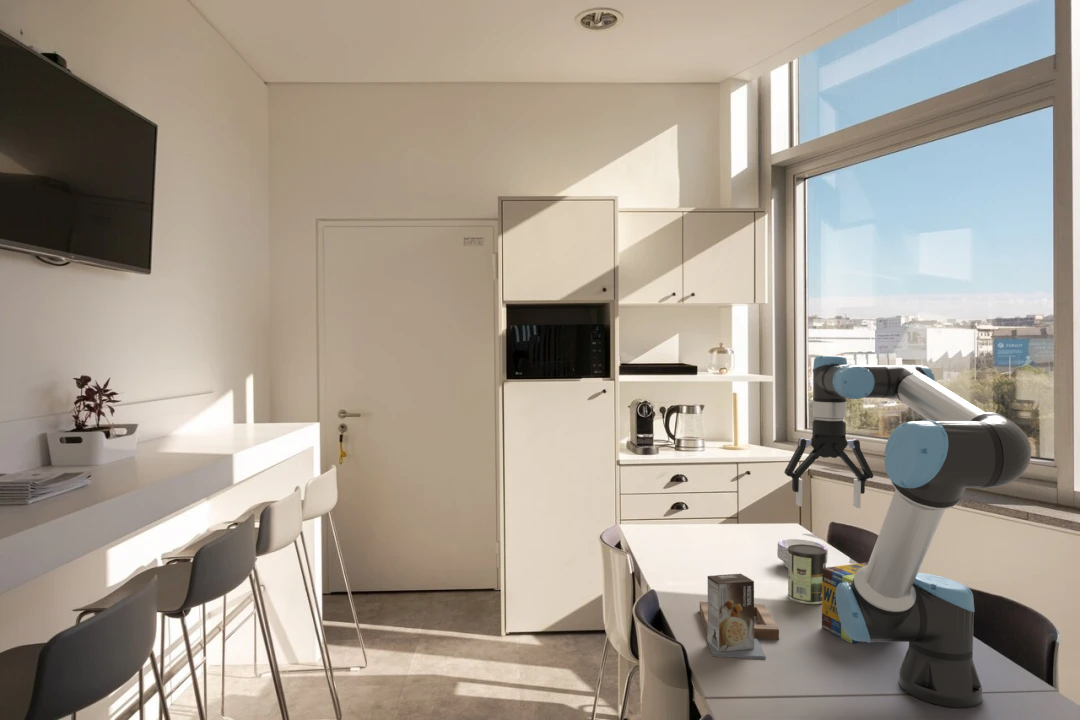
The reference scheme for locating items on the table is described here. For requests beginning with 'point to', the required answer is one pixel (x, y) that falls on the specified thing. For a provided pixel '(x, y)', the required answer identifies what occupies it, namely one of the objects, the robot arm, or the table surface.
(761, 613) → the pocket block
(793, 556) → the coffee can
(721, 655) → the rubber mat
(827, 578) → the protein box
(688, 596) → the table surface
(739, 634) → the coffee box
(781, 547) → the paper bowls
